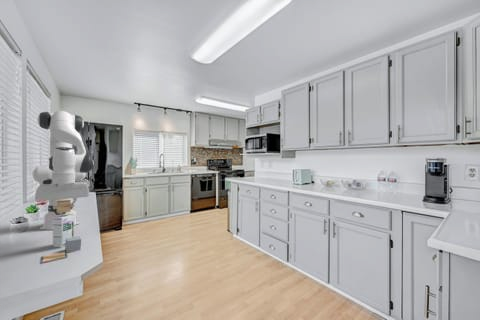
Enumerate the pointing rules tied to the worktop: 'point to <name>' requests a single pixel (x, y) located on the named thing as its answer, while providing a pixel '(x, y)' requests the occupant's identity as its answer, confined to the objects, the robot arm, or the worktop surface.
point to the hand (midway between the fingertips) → (63, 208)
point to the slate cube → (73, 244)
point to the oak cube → (63, 206)
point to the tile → (53, 257)
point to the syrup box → (62, 229)
